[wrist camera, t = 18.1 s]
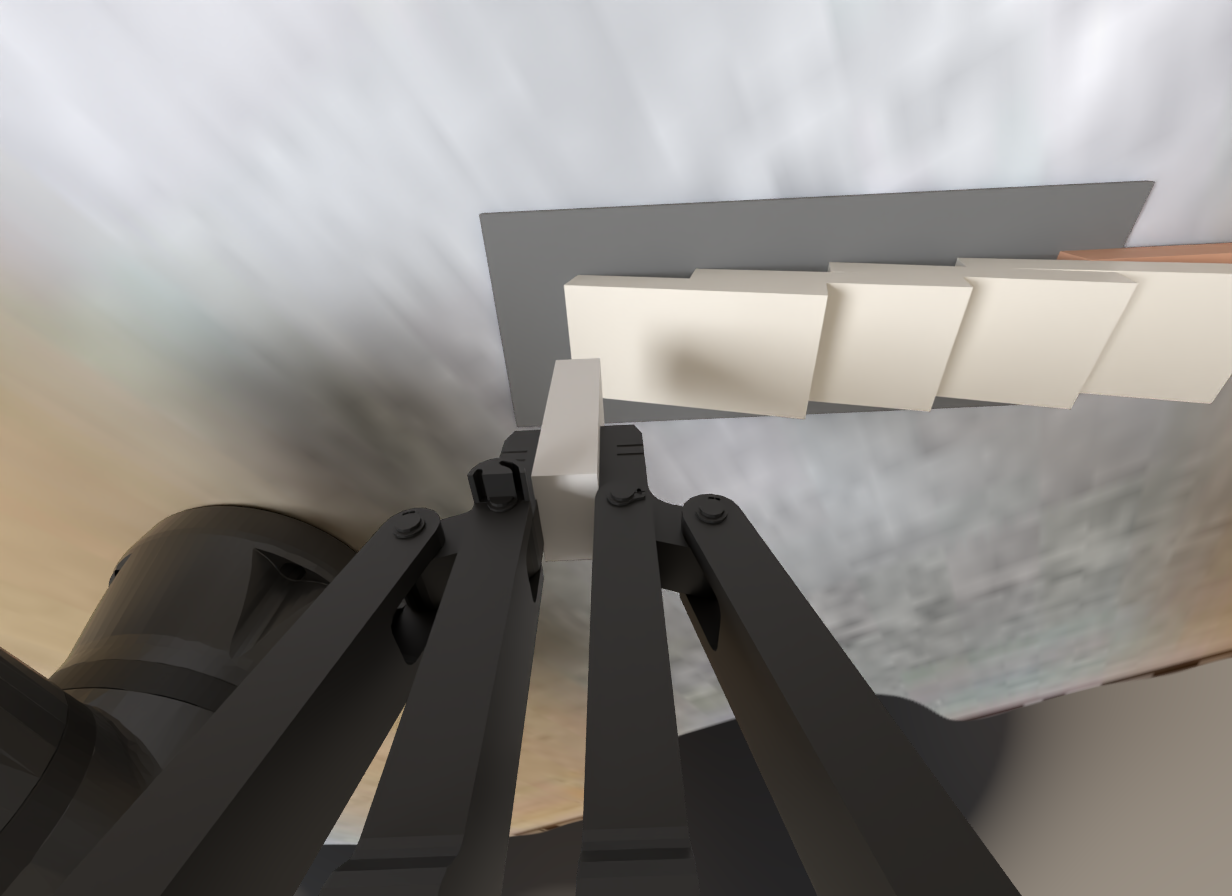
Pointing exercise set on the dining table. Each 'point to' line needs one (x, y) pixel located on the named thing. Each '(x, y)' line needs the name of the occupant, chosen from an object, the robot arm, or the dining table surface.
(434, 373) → the dining table surface
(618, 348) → the domino
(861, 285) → the domino
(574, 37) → the dining table surface
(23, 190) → the dining table surface
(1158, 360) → the domino
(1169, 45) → the dining table surface
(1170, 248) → the end domino
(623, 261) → the mat
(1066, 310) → the domino
